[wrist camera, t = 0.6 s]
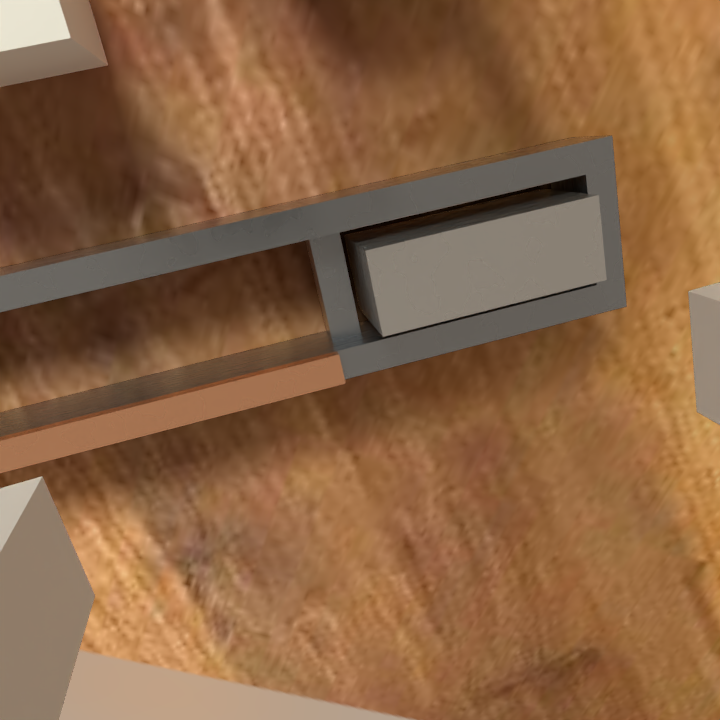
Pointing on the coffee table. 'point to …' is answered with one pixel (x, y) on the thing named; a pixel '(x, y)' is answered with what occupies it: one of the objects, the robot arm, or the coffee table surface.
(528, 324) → the rack
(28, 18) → the block
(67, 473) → the coffee table surface
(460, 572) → the coffee table surface
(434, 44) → the coffee table surface
